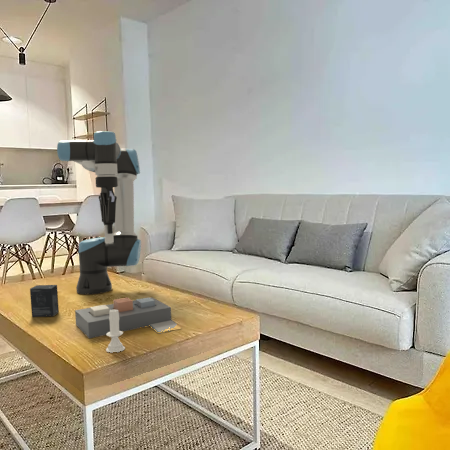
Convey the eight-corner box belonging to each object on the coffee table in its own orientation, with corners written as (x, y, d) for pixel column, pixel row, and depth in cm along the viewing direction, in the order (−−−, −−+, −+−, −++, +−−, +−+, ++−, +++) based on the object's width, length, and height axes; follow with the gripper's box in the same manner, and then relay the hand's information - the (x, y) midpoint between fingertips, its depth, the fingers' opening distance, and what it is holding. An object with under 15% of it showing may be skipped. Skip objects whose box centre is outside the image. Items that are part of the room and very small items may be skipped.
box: (59, 312, 163) (57, 284, 162) (53, 316, 158) (51, 288, 157) (38, 312, 163) (36, 284, 162) (31, 317, 158) (29, 288, 157)
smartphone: (158, 332, 138) (143, 319, 151) (158, 335, 138) (143, 321, 151) (182, 328, 142) (166, 315, 155) (182, 330, 142) (166, 317, 155)
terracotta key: (113, 311, 150) (113, 299, 149) (127, 308, 152) (127, 297, 152) (118, 314, 145) (118, 302, 145) (133, 312, 148) (132, 300, 148)
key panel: (75, 324, 148) (75, 310, 148) (152, 310, 163) (152, 297, 163) (88, 338, 135) (88, 322, 135) (171, 321, 150) (170, 307, 149)
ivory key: (90, 319, 145) (89, 307, 145) (105, 316, 148) (104, 304, 148) (94, 322, 141) (94, 310, 141) (110, 320, 144) (109, 308, 144)
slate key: (136, 310, 154) (135, 299, 154) (149, 308, 157) (149, 297, 156) (141, 314, 150) (141, 302, 149) (155, 311, 152) (154, 300, 152)
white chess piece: (102, 352, 124) (100, 311, 122) (110, 345, 129) (108, 305, 128) (120, 353, 123) (118, 311, 121) (127, 346, 128) (126, 306, 127)
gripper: (90, 176, 158) (93, 241, 160) (101, 175, 147) (104, 245, 149) (110, 176, 162) (113, 239, 164) (123, 175, 151) (125, 243, 153)
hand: (109, 242), depth 157 cm, fingers closed
